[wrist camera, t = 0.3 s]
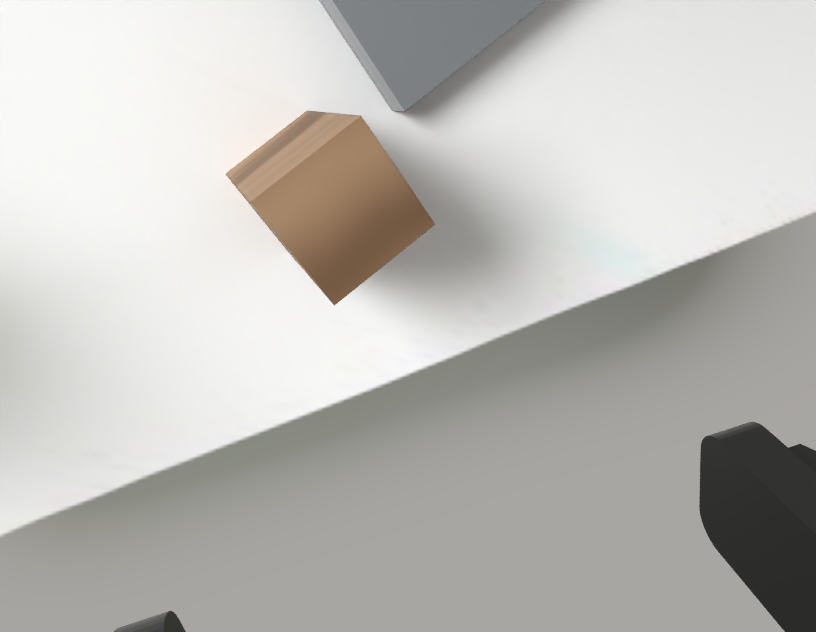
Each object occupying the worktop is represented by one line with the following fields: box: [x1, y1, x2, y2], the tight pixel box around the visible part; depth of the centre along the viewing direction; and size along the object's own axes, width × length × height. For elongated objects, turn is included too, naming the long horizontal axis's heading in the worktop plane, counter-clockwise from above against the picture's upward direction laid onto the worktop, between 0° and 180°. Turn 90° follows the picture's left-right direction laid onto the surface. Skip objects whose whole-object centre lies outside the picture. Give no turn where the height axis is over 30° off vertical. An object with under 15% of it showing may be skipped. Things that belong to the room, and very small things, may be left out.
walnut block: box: [226, 111, 435, 305], centre depth 31 cm, size 5×5×10 cm
